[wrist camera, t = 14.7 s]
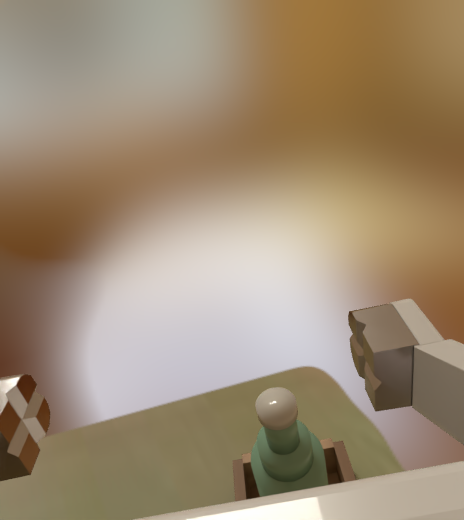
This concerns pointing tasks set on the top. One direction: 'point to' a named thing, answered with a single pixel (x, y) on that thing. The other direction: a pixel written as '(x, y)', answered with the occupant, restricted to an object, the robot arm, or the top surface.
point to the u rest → (334, 460)
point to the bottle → (285, 447)
